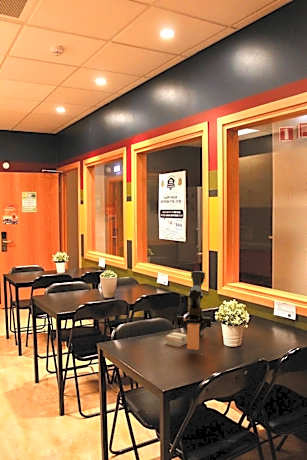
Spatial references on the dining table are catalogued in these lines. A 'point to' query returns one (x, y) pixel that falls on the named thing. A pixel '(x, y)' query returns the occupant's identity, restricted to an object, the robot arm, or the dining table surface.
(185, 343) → the tower base slab
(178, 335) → the tower top slab
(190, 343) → the orange pillar block
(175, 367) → the dining table surface
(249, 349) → the dining table surface
